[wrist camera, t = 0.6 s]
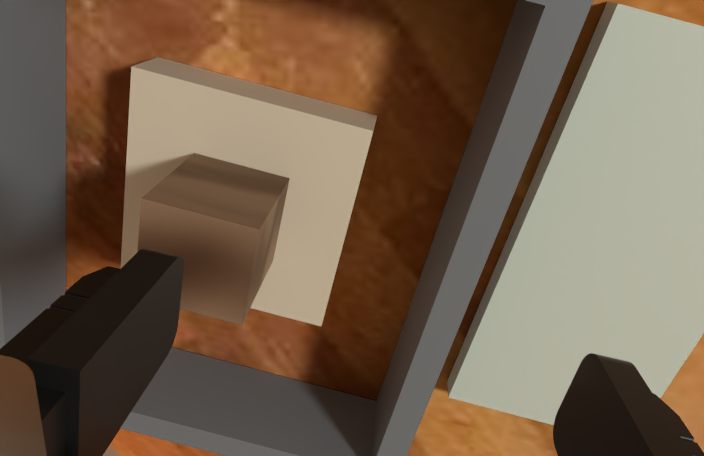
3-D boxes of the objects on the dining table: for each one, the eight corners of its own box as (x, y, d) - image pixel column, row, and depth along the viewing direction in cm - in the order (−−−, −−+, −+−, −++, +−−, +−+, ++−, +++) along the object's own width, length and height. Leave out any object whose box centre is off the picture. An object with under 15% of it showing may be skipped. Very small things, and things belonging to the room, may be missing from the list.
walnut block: (194, 152, 28) (141, 198, 22) (289, 178, 28) (259, 229, 22) (185, 237, 30) (134, 296, 24) (273, 260, 30) (241, 325, 25)
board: (607, 1, 25) (618, 3, 24) (853, 68, 26) (877, 73, 24) (446, 381, 36) (448, 397, 35) (620, 427, 36) (628, 444, 35)
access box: (31, -175, 25) (-75, -214, 19) (564, -31, 25) (605, -30, 20) (43, 331, 38) (-18, 392, 33) (392, 423, 38) (389, 498, 33)
